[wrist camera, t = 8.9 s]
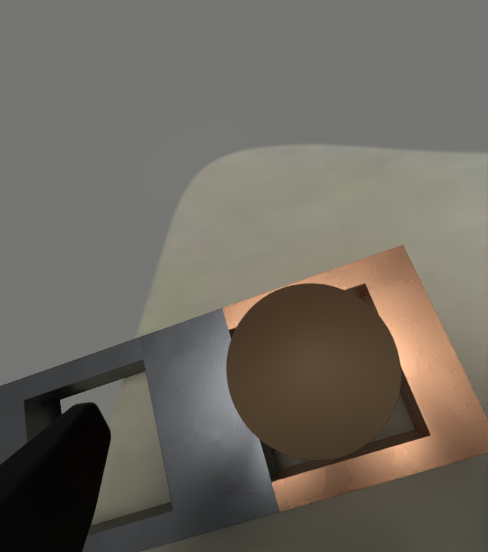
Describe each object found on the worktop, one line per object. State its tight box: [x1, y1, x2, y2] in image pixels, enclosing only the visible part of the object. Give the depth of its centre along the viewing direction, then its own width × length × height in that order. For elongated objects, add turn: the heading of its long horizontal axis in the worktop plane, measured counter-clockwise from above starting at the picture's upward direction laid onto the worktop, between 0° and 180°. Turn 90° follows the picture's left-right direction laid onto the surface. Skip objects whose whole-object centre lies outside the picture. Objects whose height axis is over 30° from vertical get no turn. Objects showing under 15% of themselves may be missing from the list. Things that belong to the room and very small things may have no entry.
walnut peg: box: [226, 283, 401, 460], centre depth 13 cm, size 4×4×10 cm
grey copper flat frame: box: [0, 245, 488, 552], centre depth 17 cm, size 8×20×2 cm, turn 106°
